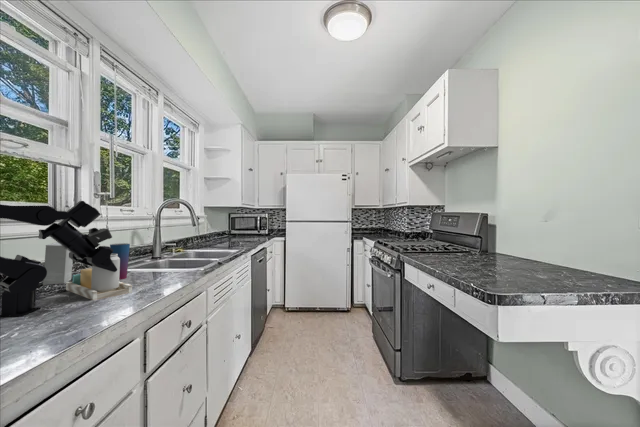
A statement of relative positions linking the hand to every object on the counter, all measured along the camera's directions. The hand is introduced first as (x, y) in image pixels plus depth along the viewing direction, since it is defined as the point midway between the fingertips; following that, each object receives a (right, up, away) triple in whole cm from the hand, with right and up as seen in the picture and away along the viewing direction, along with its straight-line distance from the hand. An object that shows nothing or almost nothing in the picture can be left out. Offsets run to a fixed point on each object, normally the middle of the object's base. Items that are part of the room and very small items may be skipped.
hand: (110, 269), depth 97 cm
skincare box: (-31, -9, +14) cm, 35 cm away
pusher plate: (-13, -7, +6) cm, 16 cm away
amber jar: (-9, -8, +4) cm, 13 cm away
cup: (-12, -9, +22) cm, 26 cm away
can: (-1, -7, -1) cm, 7 cm away
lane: (-6, -9, +2) cm, 10 cm away
